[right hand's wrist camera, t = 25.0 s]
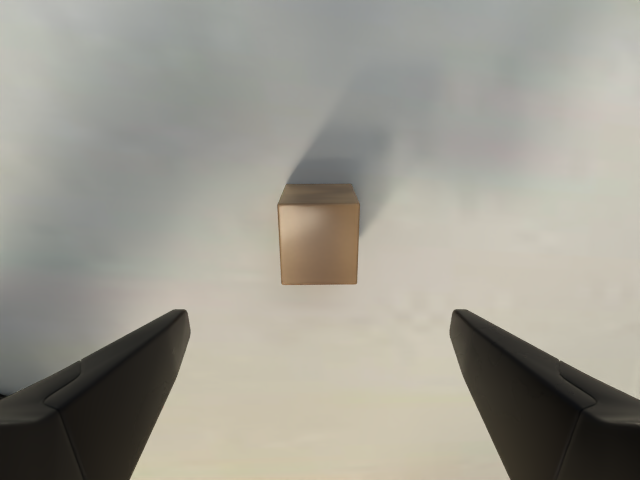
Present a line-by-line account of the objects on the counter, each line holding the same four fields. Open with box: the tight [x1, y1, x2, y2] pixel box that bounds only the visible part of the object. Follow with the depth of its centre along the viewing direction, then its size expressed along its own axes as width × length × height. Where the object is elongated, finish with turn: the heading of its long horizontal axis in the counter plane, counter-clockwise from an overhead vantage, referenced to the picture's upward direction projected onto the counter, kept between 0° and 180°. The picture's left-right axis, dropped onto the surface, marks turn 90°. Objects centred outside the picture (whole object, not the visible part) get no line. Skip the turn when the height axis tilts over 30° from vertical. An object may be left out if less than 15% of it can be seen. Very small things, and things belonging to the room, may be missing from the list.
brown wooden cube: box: [277, 184, 360, 285], centre depth 20 cm, size 4×5×5 cm
